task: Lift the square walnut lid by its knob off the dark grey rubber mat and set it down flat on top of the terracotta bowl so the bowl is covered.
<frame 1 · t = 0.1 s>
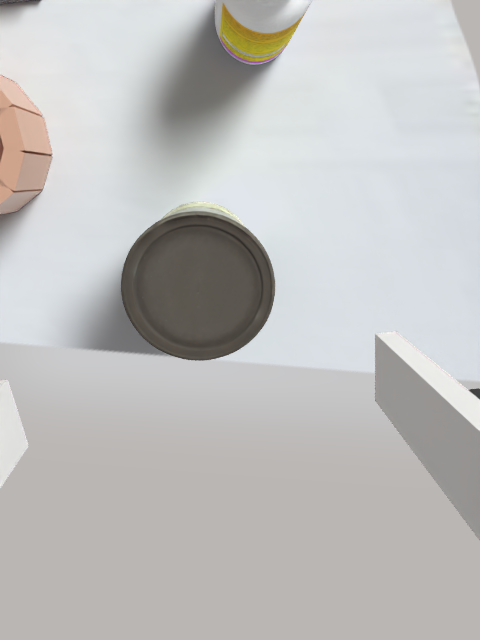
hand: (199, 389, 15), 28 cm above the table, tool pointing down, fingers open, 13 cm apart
supplement bottle: (253, 22, 36), on the table
coffee can: (202, 254, 42), on the table
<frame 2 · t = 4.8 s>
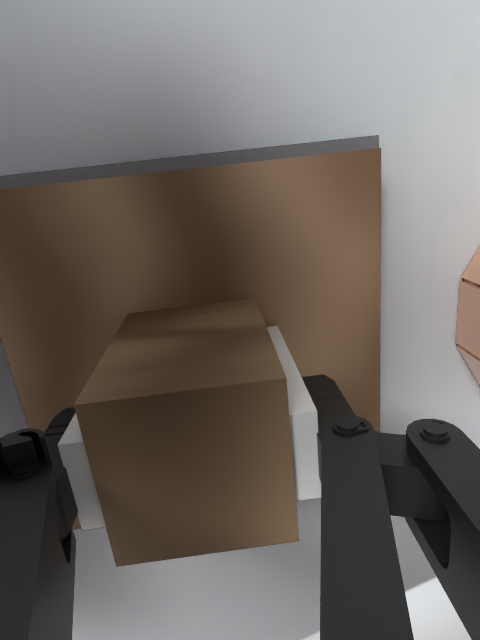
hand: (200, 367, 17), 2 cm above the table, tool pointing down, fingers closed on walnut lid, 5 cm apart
walnut lid: (201, 349, 19), point 1 cm above the table, touching gripper, rubber mat
rubber mat: (201, 344, 19), on the table
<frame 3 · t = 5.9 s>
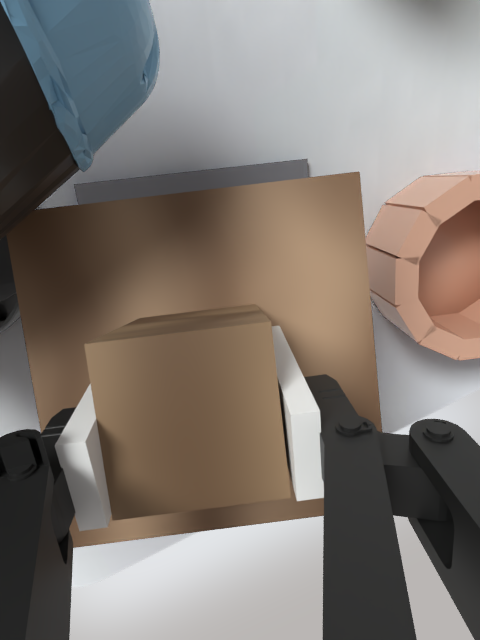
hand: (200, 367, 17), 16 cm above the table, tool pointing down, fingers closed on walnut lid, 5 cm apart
walnut lid: (206, 360, 20), point 13 cm above the table, tilted 13°, touching arm, gripper
rubber mat: (206, 283, 32), on the table
terracotta bowl: (439, 255, 33), on the table
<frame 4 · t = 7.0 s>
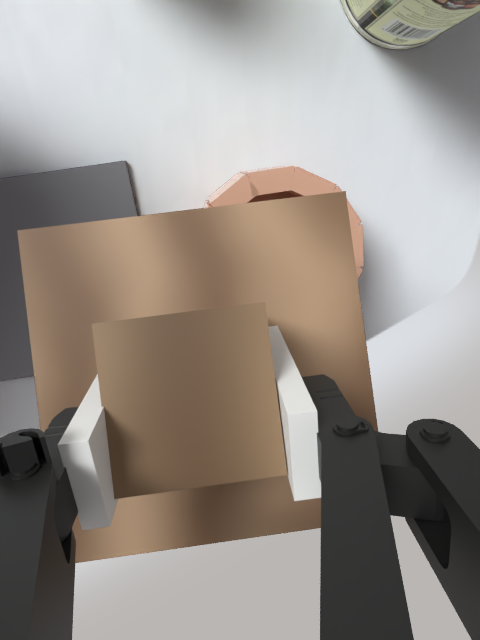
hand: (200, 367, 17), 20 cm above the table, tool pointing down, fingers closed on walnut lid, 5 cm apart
walnut lid: (205, 371, 21), point 16 cm above the table, tilted 21°, touching gripper
rubber mat: (50, 278, 35), on the table
terracotta bowl: (266, 244, 35), on the table
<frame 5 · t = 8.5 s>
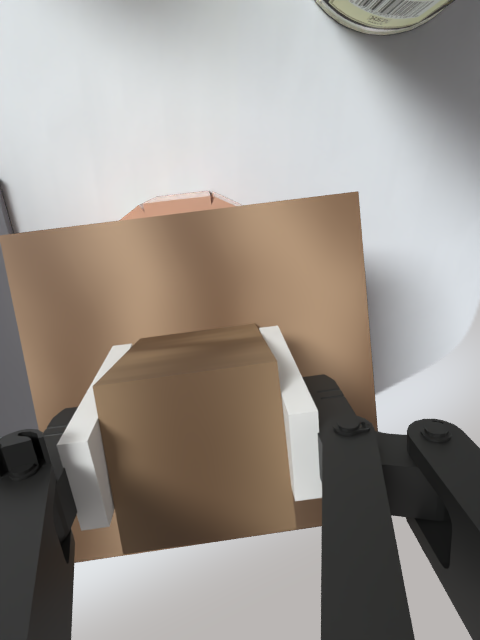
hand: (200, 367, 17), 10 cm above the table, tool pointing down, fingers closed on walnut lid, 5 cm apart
walnut lid: (206, 376, 20), point 7 cm above the table, tilted 11°, touching gripper, terracotta bowl
terracotta bowl: (197, 292, 26), on the table
when the fingers open (9 cm above the table, at t = 9.3 s): walnut lid stays where it is, resting on terracotta bowl.
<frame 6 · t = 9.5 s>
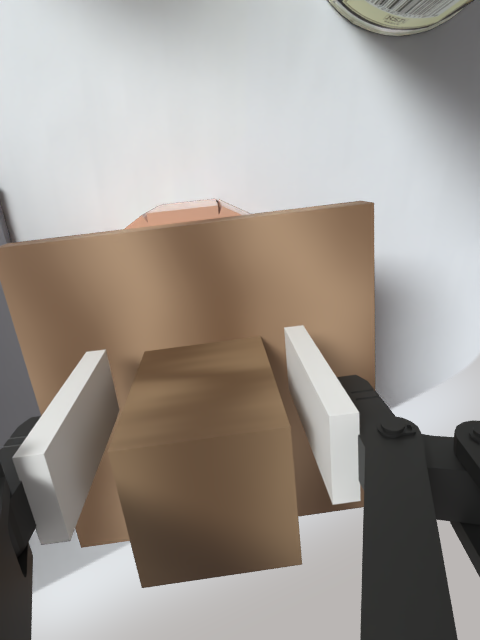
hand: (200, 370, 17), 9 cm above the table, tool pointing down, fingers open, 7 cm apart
walnut lid: (210, 380, 20), point 6 cm above the table, touching terracotta bowl
terracotta bowl: (202, 304, 25), on the table
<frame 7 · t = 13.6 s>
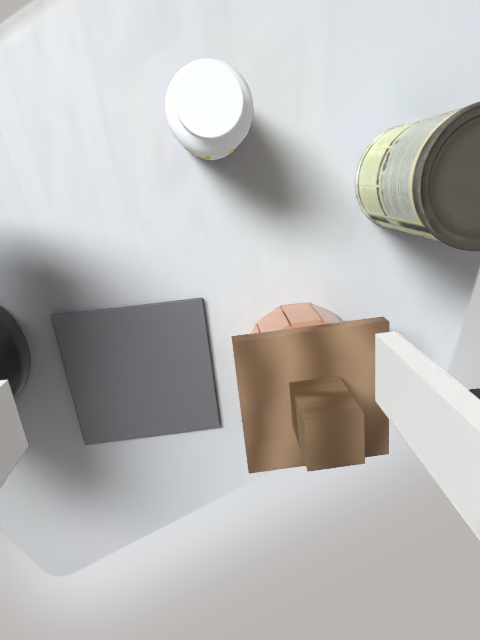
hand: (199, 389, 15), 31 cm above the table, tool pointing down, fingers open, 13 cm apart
supplement bottle: (209, 123, 41), on the table
walnut lid: (312, 394, 44), point 6 cm above the table, touching terracotta bowl
coffee can: (401, 178, 44), on the table
rubber mat: (141, 373, 48), on the table
terracotta bowl: (297, 353, 49), on the table
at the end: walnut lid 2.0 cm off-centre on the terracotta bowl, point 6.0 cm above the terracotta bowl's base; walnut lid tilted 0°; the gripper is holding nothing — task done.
